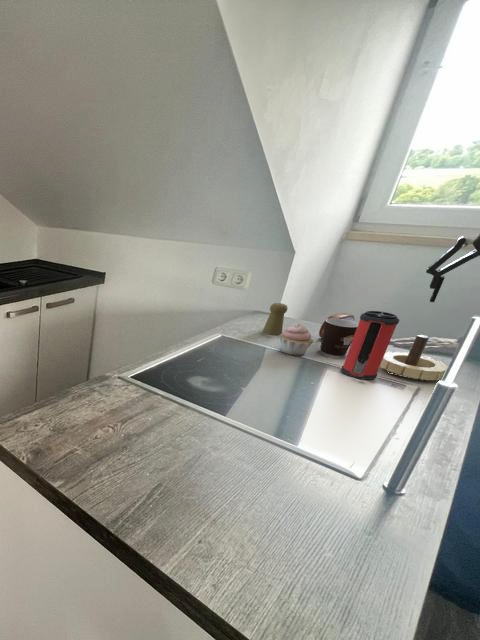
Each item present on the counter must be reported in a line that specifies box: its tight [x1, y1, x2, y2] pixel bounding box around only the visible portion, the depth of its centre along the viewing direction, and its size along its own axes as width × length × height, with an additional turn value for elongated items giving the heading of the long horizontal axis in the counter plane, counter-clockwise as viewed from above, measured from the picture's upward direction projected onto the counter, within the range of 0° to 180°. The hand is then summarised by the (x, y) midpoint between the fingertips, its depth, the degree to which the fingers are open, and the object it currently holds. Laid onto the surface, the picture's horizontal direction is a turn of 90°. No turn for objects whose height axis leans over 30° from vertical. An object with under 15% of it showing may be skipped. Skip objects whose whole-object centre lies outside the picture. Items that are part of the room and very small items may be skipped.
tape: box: [379, 351, 449, 381], centre depth 110 cm, size 14×14×3 cm
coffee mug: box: [319, 318, 359, 357], centre depth 123 cm, size 12×9×10 cm
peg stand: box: [387, 334, 430, 383], centre depth 109 cm, size 8×8×11 cm
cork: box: [262, 302, 289, 336], centre depth 141 cm, size 6×6×11 cm
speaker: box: [340, 310, 400, 381], centre depth 107 cm, size 8×8×18 cm
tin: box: [318, 312, 355, 338], centre depth 136 cm, size 15×3×8 cm, turn 114°
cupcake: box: [278, 322, 314, 356], centre depth 125 cm, size 9×9×10 cm
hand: (469, 305), depth 99 cm, fingers open, 13 cm apart
